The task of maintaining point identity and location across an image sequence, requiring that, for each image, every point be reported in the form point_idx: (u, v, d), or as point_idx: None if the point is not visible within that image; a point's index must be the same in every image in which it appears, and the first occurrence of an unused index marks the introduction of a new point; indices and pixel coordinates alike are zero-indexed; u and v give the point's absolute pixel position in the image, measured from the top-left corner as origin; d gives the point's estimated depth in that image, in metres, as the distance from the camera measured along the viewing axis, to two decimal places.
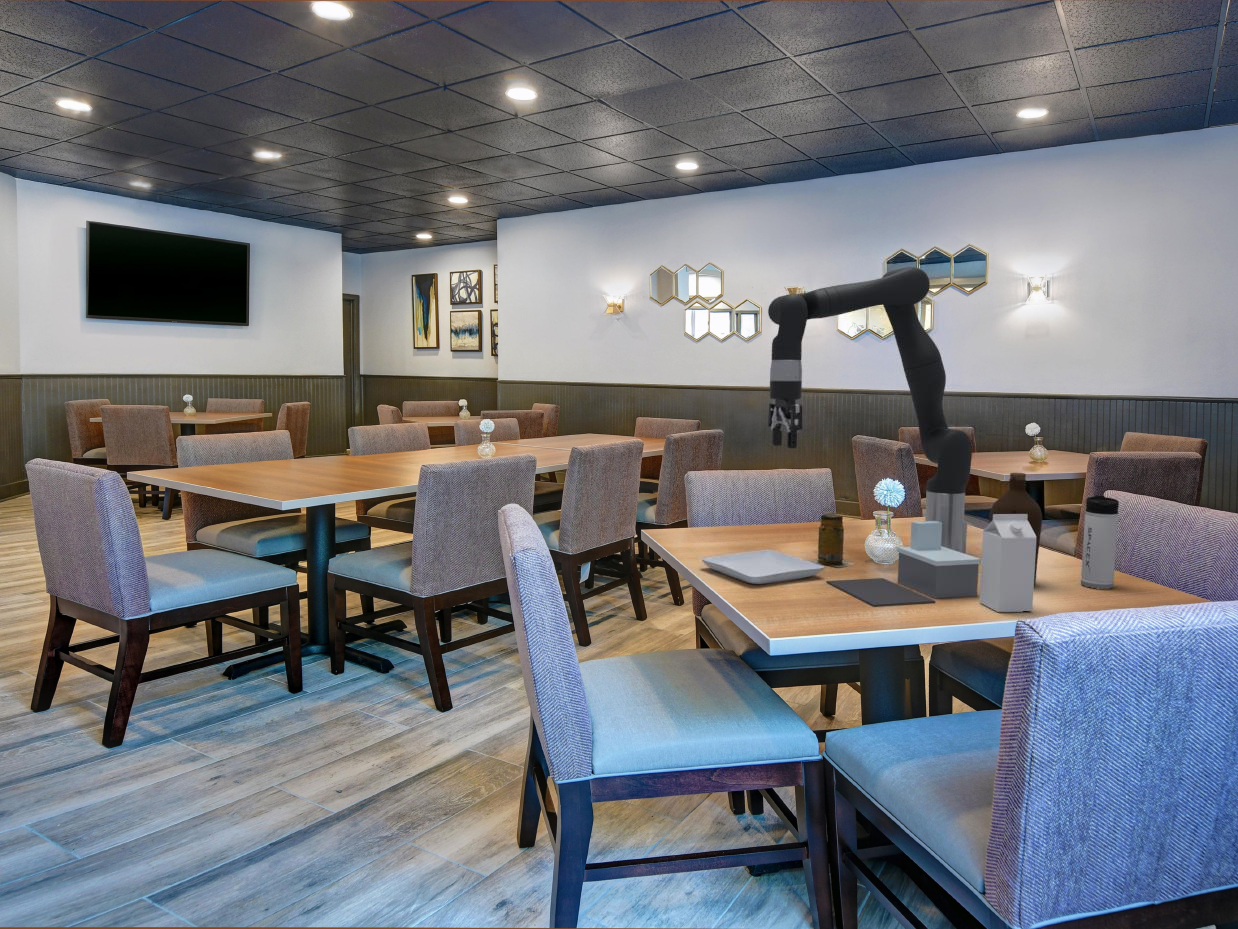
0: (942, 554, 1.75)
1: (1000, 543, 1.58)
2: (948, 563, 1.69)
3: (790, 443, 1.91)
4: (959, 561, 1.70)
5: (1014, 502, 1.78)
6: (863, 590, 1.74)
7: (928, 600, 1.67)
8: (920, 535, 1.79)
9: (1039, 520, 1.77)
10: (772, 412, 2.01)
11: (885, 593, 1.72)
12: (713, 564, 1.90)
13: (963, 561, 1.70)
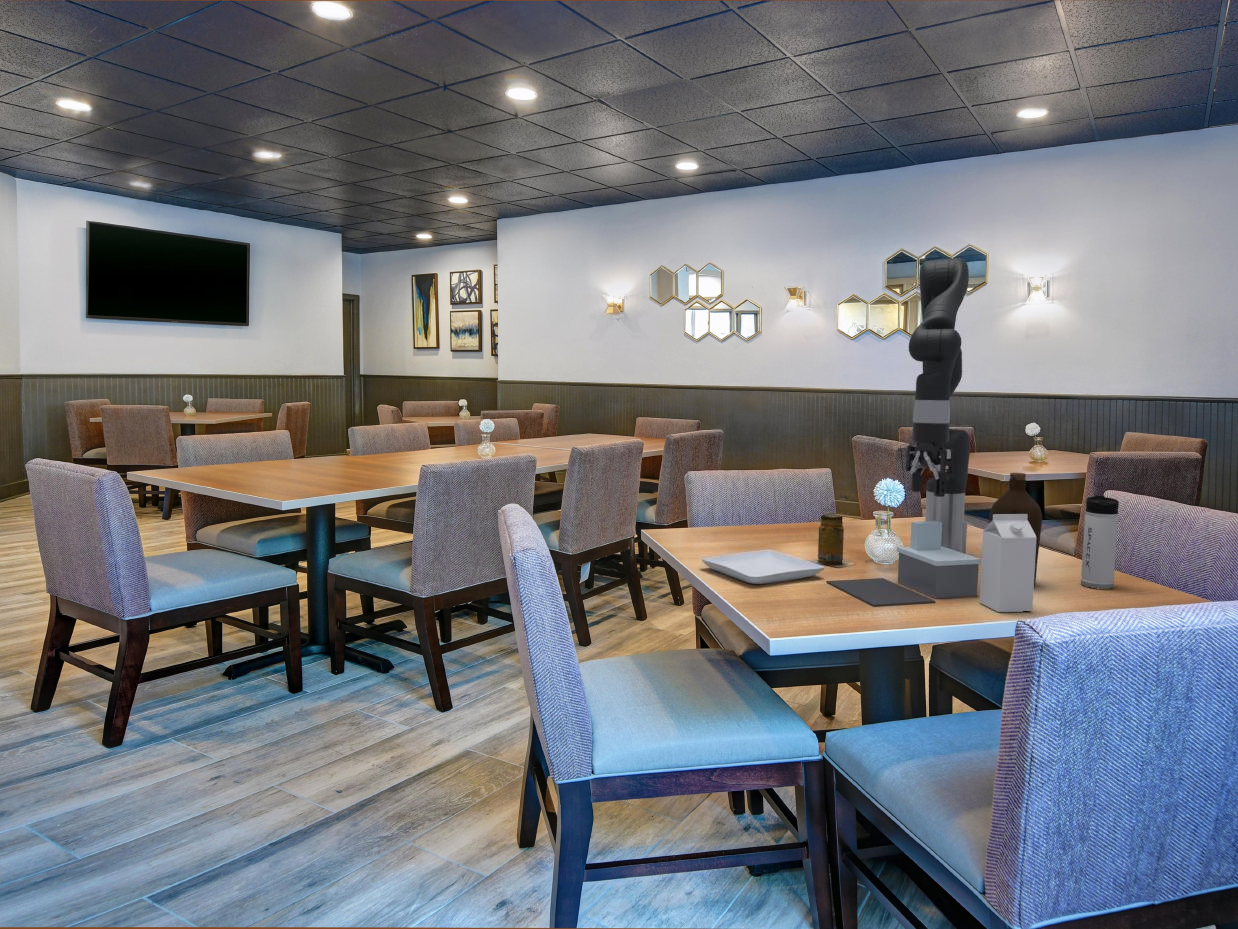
0: (942, 554, 1.75)
1: (1000, 543, 1.58)
2: (948, 563, 1.69)
3: (938, 491, 1.75)
4: (959, 561, 1.70)
5: (1014, 502, 1.78)
6: (863, 590, 1.74)
7: (928, 600, 1.67)
8: (920, 535, 1.79)
9: (1039, 520, 1.77)
10: (911, 455, 1.84)
11: (885, 593, 1.72)
12: (713, 564, 1.90)
13: (963, 561, 1.70)
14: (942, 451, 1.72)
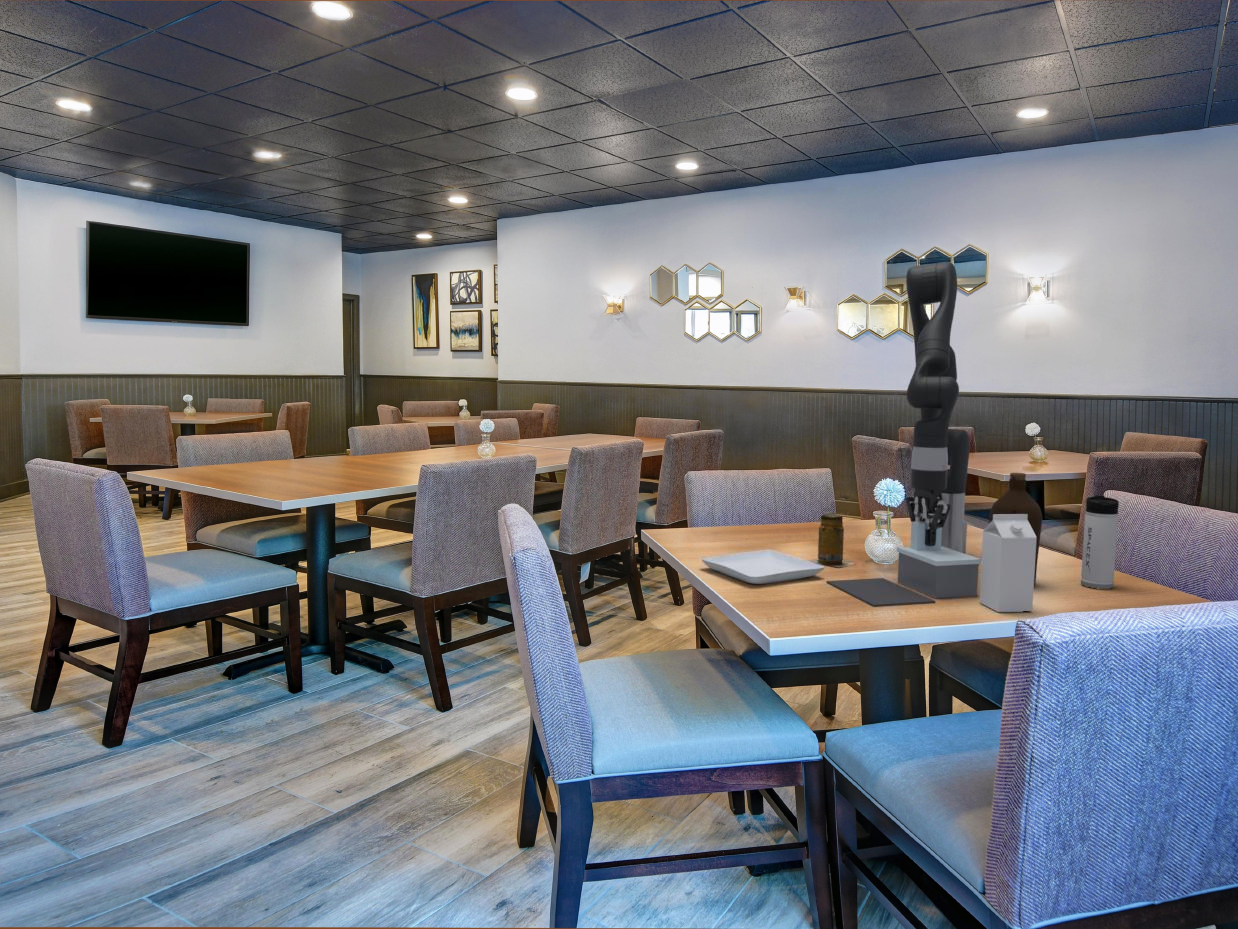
0: (942, 554, 1.75)
1: (1000, 543, 1.58)
2: (948, 563, 1.69)
3: (929, 541, 1.78)
4: (959, 561, 1.70)
5: (1014, 502, 1.78)
6: (863, 590, 1.74)
7: (928, 600, 1.67)
8: (920, 535, 1.79)
9: (1039, 520, 1.77)
10: (912, 505, 1.84)
11: (885, 593, 1.72)
12: (713, 564, 1.90)
13: (963, 561, 1.70)
14: (939, 507, 1.74)
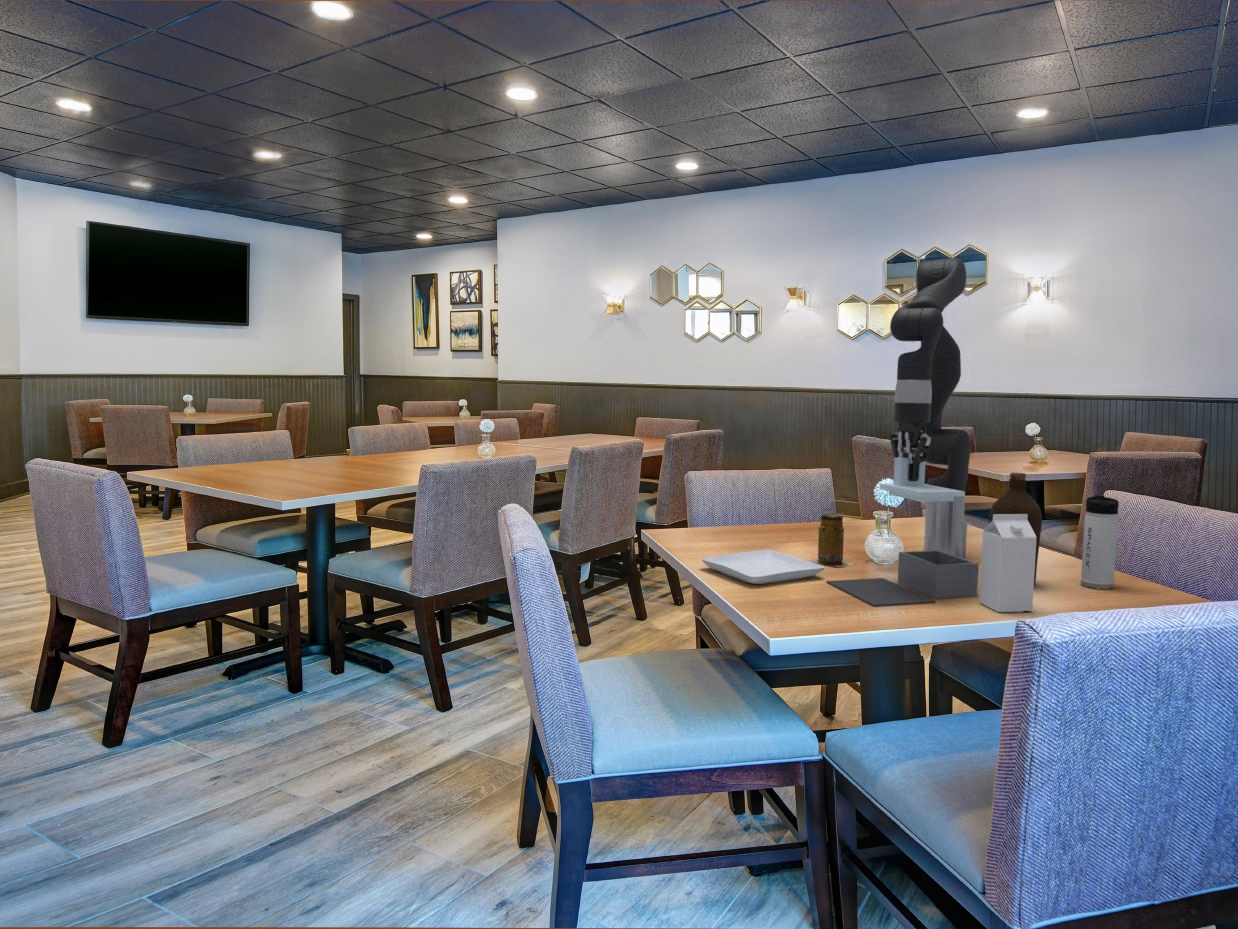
0: (925, 488, 1.72)
1: (1000, 543, 1.58)
2: (931, 494, 1.66)
3: (912, 476, 1.76)
4: (942, 493, 1.67)
5: (1014, 502, 1.78)
6: (863, 590, 1.74)
7: (928, 600, 1.67)
8: (903, 470, 1.76)
9: (1039, 520, 1.77)
10: (895, 442, 1.82)
11: (885, 593, 1.72)
12: (713, 564, 1.90)
13: (946, 493, 1.67)
14: (922, 439, 1.71)
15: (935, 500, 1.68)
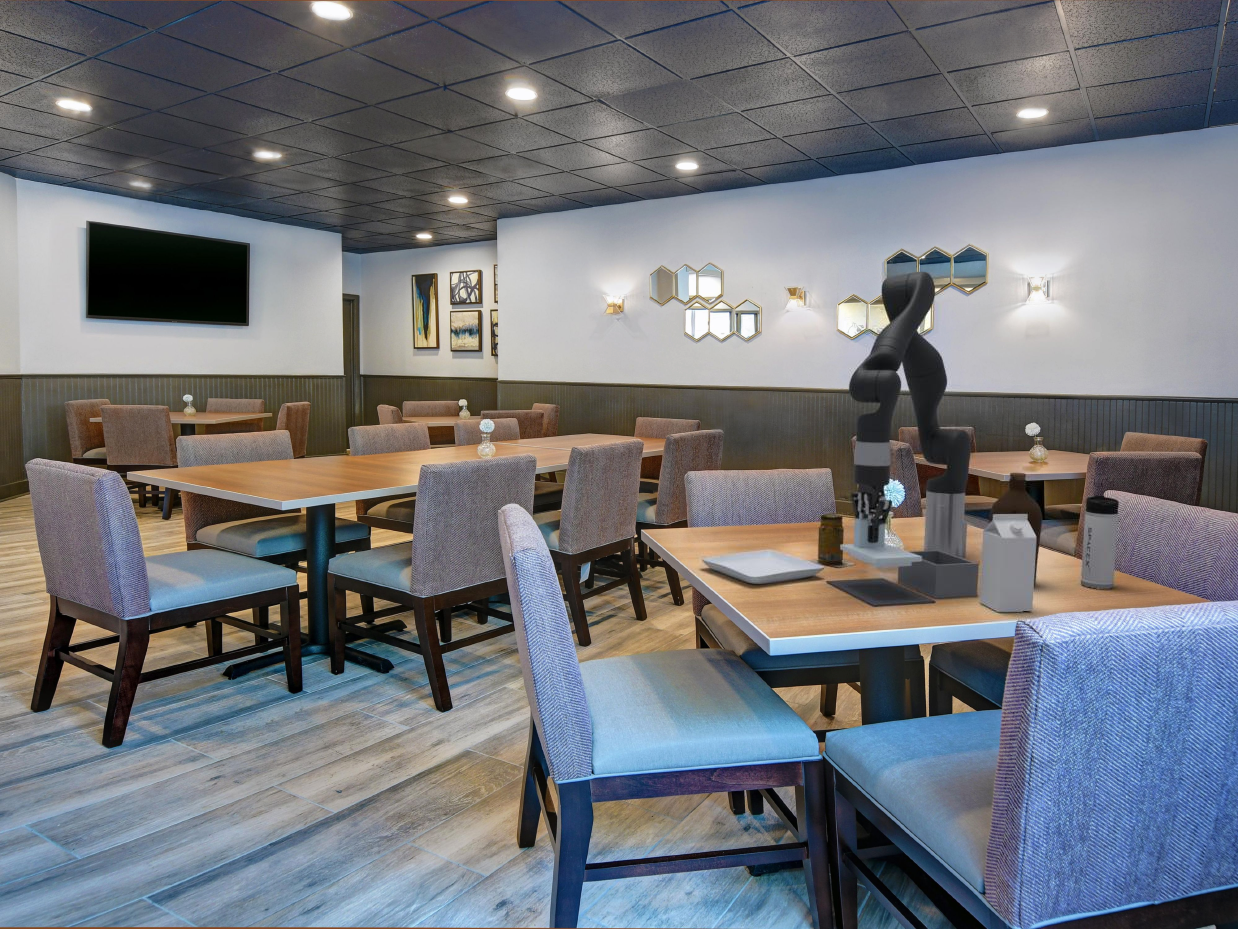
0: (884, 551, 1.72)
1: (1000, 543, 1.58)
2: (888, 560, 1.66)
3: (871, 537, 1.75)
4: (899, 558, 1.66)
5: (1014, 502, 1.78)
6: (863, 590, 1.74)
7: (928, 600, 1.67)
8: (863, 532, 1.76)
9: (1039, 520, 1.77)
10: (856, 501, 1.81)
11: (885, 593, 1.72)
12: (713, 564, 1.90)
13: (903, 558, 1.67)
14: (880, 503, 1.71)
15: (892, 565, 1.68)
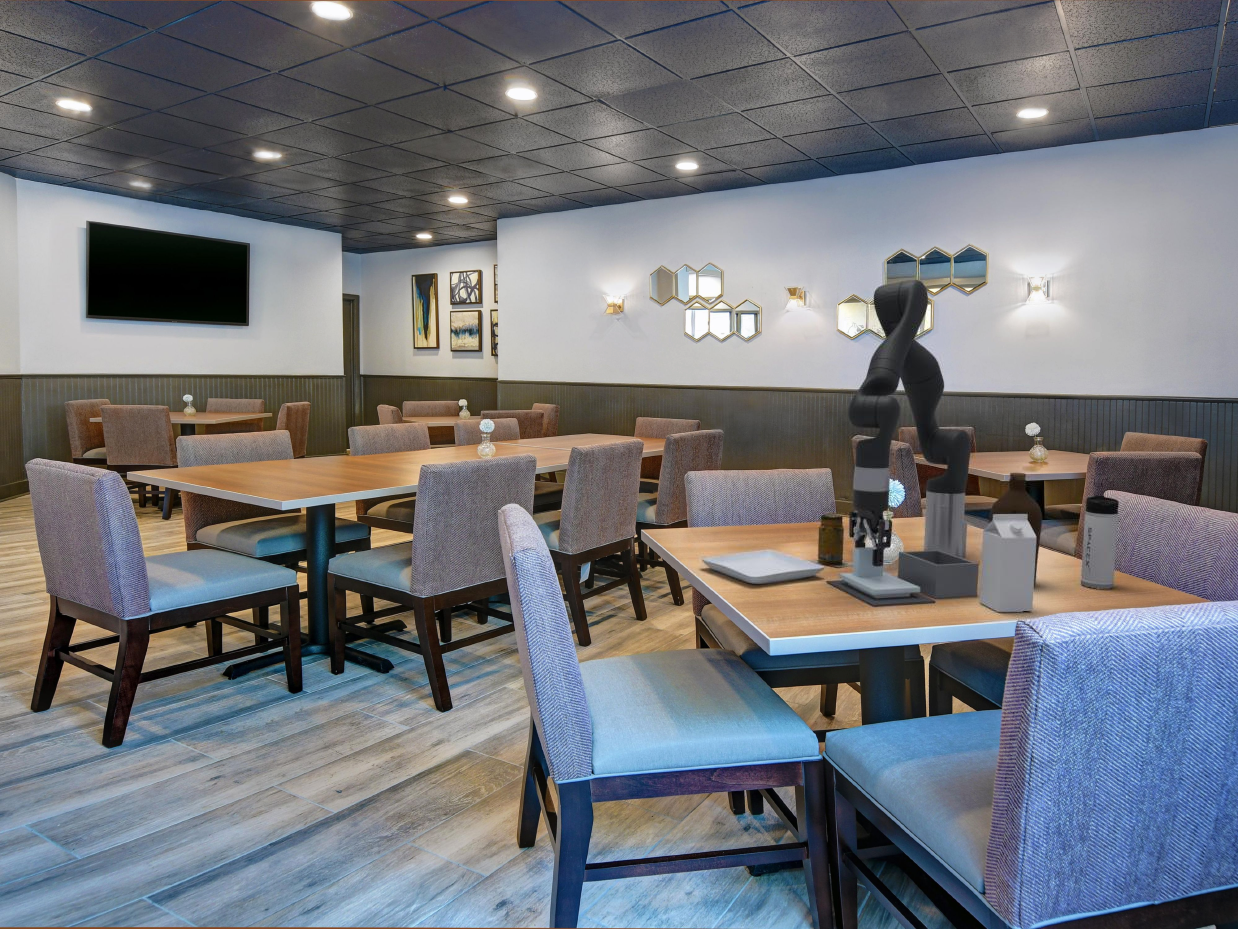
0: (882, 581, 1.73)
1: (1000, 543, 1.58)
2: (886, 592, 1.67)
3: (876, 561, 1.74)
4: (897, 589, 1.67)
5: (1014, 502, 1.78)
6: None
7: (928, 600, 1.67)
8: (862, 561, 1.77)
9: (1039, 520, 1.77)
10: (853, 521, 1.83)
11: None
12: (713, 564, 1.90)
13: (902, 589, 1.68)
14: (880, 522, 1.71)
15: (891, 596, 1.69)
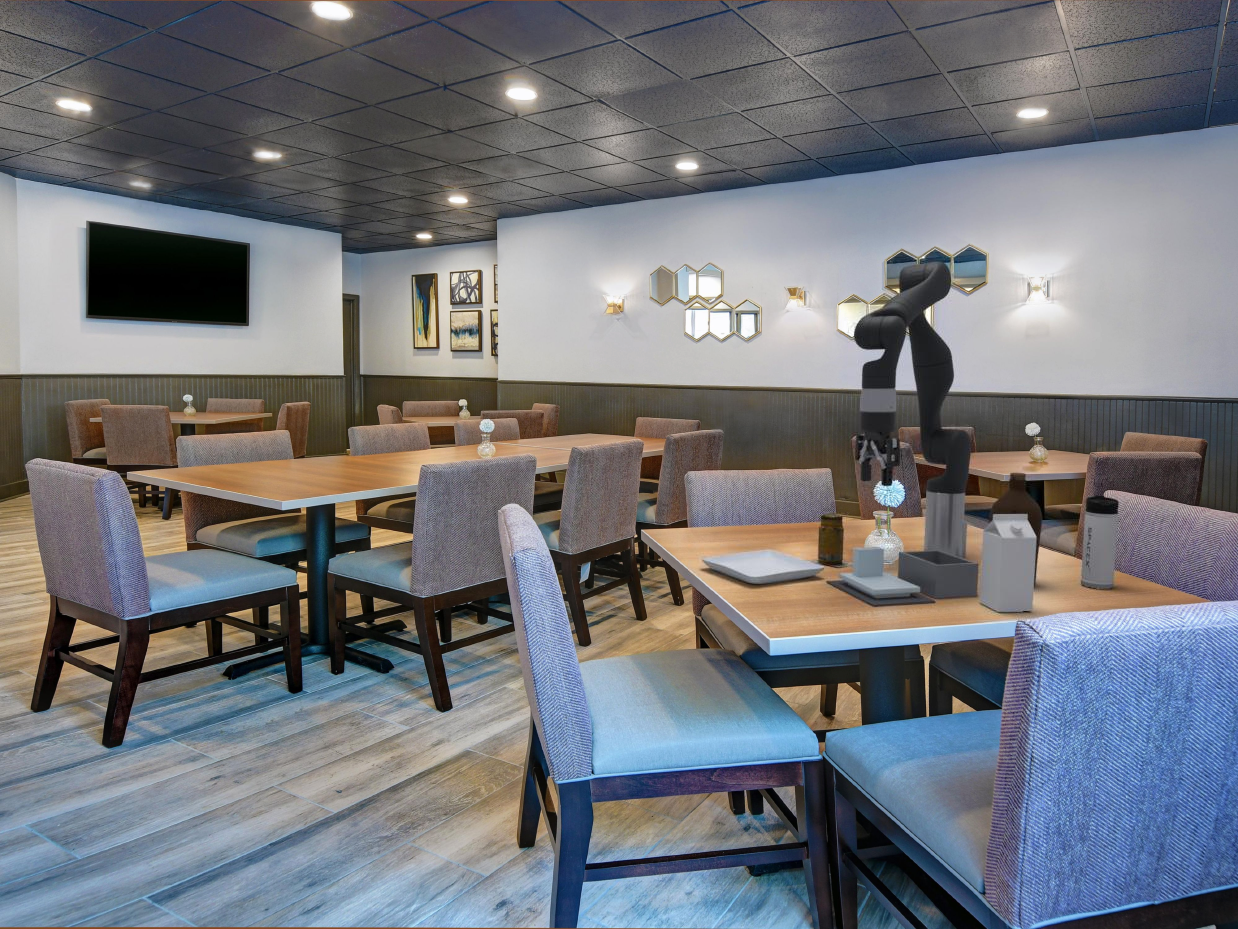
0: (882, 581, 1.73)
1: (1000, 543, 1.58)
2: (886, 592, 1.67)
3: (885, 481, 1.73)
4: (897, 589, 1.67)
5: (1014, 502, 1.78)
6: None
7: (928, 600, 1.67)
8: (862, 561, 1.77)
9: (1039, 520, 1.77)
10: (860, 444, 1.83)
11: None
12: (713, 564, 1.90)
13: (902, 589, 1.68)
14: (888, 440, 1.71)
15: (891, 596, 1.69)
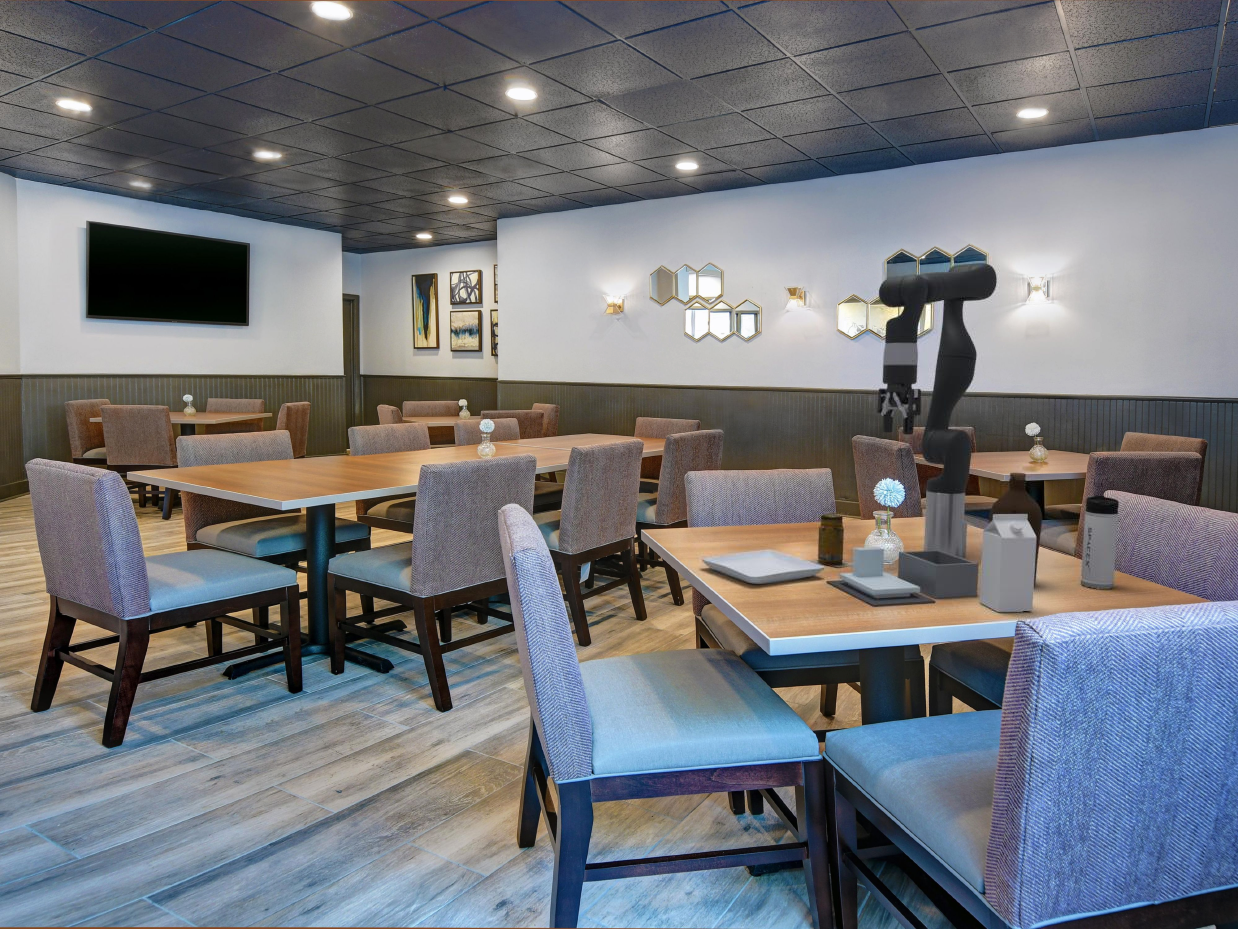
0: (882, 581, 1.73)
1: (1000, 543, 1.58)
2: (886, 592, 1.67)
3: (907, 429, 1.84)
4: (897, 589, 1.67)
5: (1014, 502, 1.78)
6: None
7: (928, 600, 1.67)
8: (862, 561, 1.77)
9: (1039, 520, 1.77)
10: (882, 398, 1.94)
11: None
12: (713, 564, 1.90)
13: (902, 589, 1.68)
14: (910, 390, 1.82)
15: (891, 596, 1.69)
